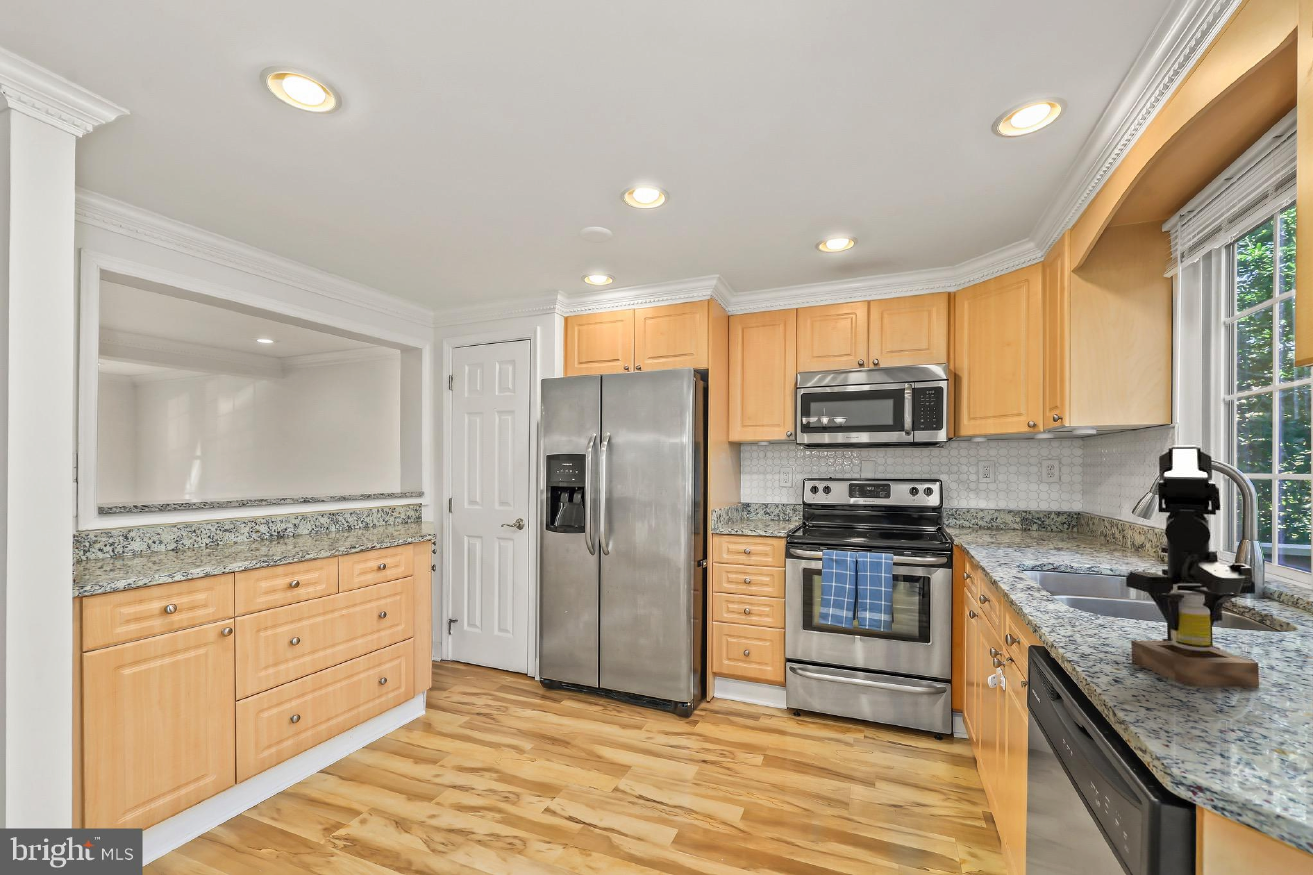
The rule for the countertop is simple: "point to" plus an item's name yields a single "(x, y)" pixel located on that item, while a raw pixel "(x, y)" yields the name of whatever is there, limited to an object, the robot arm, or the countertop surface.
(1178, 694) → the countertop surface
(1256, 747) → the countertop surface
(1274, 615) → the countertop surface
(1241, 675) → the socket block
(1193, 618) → the supplement bottle
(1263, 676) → the countertop surface
